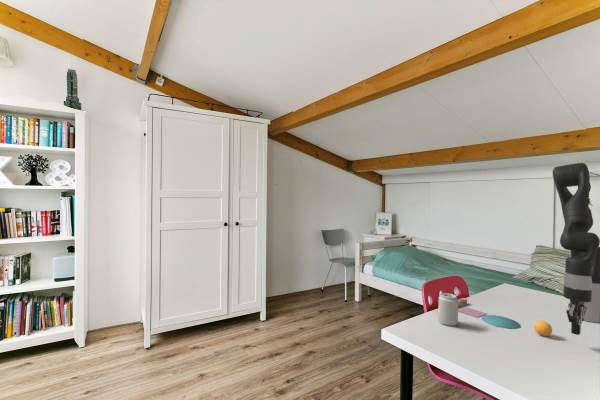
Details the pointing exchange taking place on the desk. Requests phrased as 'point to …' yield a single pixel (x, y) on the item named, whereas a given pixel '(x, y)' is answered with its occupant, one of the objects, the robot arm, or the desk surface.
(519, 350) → the desk surface
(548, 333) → the ball
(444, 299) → the can
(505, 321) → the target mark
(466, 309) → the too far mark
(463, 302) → the stopper
